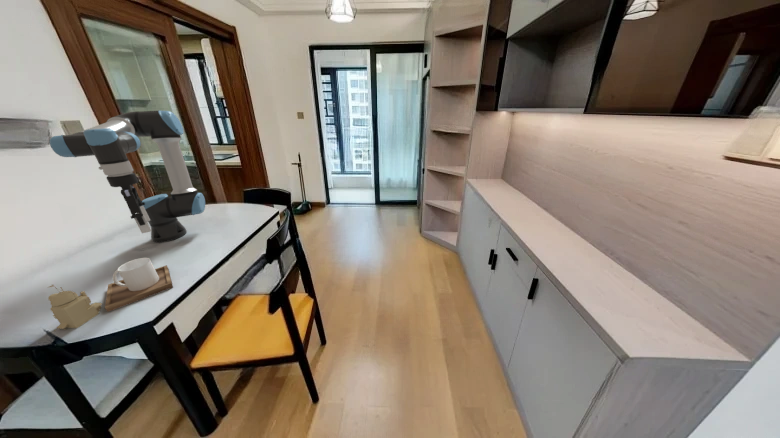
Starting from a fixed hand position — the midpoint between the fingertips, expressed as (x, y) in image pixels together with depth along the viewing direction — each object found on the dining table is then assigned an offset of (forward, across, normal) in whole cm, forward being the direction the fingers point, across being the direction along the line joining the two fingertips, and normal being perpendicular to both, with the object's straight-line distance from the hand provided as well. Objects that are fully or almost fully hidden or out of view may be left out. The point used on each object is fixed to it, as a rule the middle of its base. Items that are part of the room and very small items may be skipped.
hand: (146, 226), depth 99 cm
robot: (+21, +14, -24) cm, 35 cm away
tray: (+22, +7, -9) cm, 24 cm away
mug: (+20, +6, -9) cm, 23 cm away
